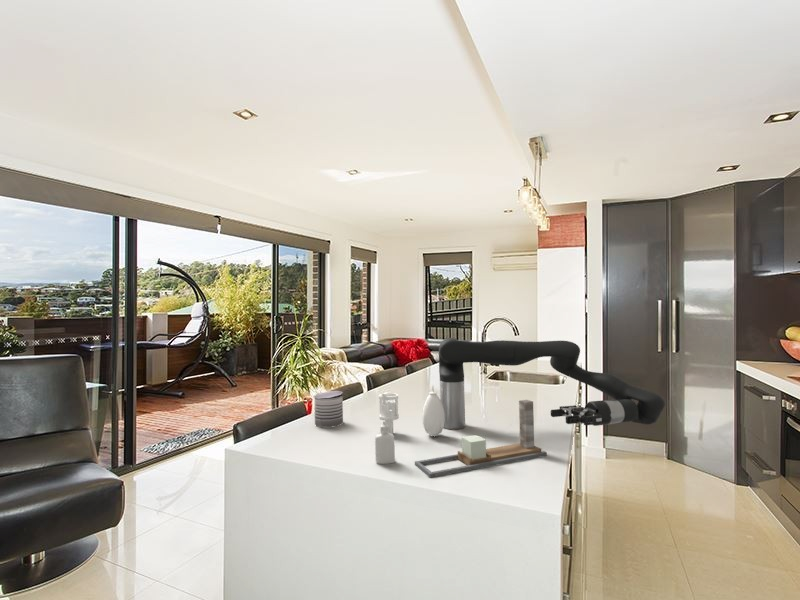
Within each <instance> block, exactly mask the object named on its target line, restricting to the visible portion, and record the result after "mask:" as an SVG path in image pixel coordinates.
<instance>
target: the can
mask: <svg viewBox="0 0 800 600" xmlns="http://www.w3.org/2000/svg"><path fill="white" fill-rule="evenodd" d="M343 394H344V391H341V390H331V391H324V392H319V393H316V394H315V395H313V398H314V399H313V403H314V404H313V405H314V409H313V410H314V425H316V426H315V427H318V426H321V427H320V428H333V427H332V426H335V427H338V425H339V426H340V424H341V425H342V423H343V424H344V408H343V407H344V406H343V399H344V398H343Z"/></svg>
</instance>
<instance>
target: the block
mask: <svg viewBox="0 0 800 600" xmlns="http://www.w3.org/2000/svg"><path fill="white" fill-rule="evenodd" d="M486 449H487V440H486V439H485V438H484V437H481V436H478V435H469V436H463V437H461V452H462V453H464V454H465V455H467V456H469V457H470V458H472V460H474V459H479V458H485V457H486Z"/></svg>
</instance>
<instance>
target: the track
mask: <svg viewBox="0 0 800 600" xmlns="http://www.w3.org/2000/svg"><path fill="white" fill-rule="evenodd" d="M547 456H548V452H547V451H541V452H538V453H532V454H527V455H521V456H516V457H511V458H505V459H500V460H494V461H489V462H483V463H478V464H472V465H464V466H463V465H461V466H457V467H452V468H451V467H450V468H446V469H441V470H440V469H439V470H435V471H431V470H430V469H429V468H427V467H426V466H427V465H430V464H437V463H442V462H448V461H454V460H459V459H458V453H456V454H452V455H451V454H450V455H446V456H438V457H433V458H427V459H422V460H417V461H414V466H415V467H417V468H418V469H419V470H420V471H422V473H424V474H425V475H426V476H427V477H428V478H437V477H441V476H447V475H451V474H455V473H456V474H457V473H461V472H466V471H467V472H468V471H473V470H477V469H483V468H489V467H493V466H499V465H504V464H509V463H510V464H511V463H514V462H520V461H526V460H531V459H537V458H541V457H547ZM425 465H426V466H425Z"/></svg>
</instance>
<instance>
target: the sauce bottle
mask: <svg viewBox="0 0 800 600" xmlns="http://www.w3.org/2000/svg"><path fill="white" fill-rule="evenodd" d="M431 388H432V389H431V391H429V393H428V394H429V395H428V396H427V398H426V399H425V403H424V404H423V409H422V426H423V428H424V431H425V432H426V434H428V436H431V437H432V436H434V437H433V438H436V437H437V436H439V435H440V434H441V433H442V432H443V430H444V428H443V427H444V423H445V414H444V409H443V406H442V403H441V401H440V396H438V395H437V394H438V393H437V392H436V391H434V390H435V389H434V388H435V387H434V385H432V386H431ZM435 436H436V437H435Z"/></svg>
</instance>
